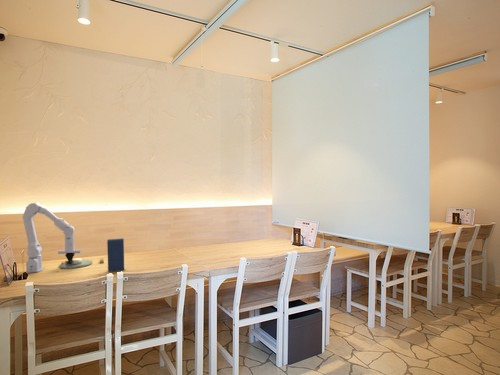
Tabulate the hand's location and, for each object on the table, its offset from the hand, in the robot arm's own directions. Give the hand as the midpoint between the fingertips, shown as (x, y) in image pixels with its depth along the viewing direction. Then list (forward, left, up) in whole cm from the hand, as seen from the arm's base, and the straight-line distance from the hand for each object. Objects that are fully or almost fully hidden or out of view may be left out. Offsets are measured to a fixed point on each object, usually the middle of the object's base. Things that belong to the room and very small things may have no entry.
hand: (70, 264), depth 214 cm
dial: (+4, -1, -1) cm, 4 cm away
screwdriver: (+11, -17, -2) cm, 20 cm away
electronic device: (-16, -32, -2) cm, 36 cm away
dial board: (+6, -2, -2) cm, 6 cm away
